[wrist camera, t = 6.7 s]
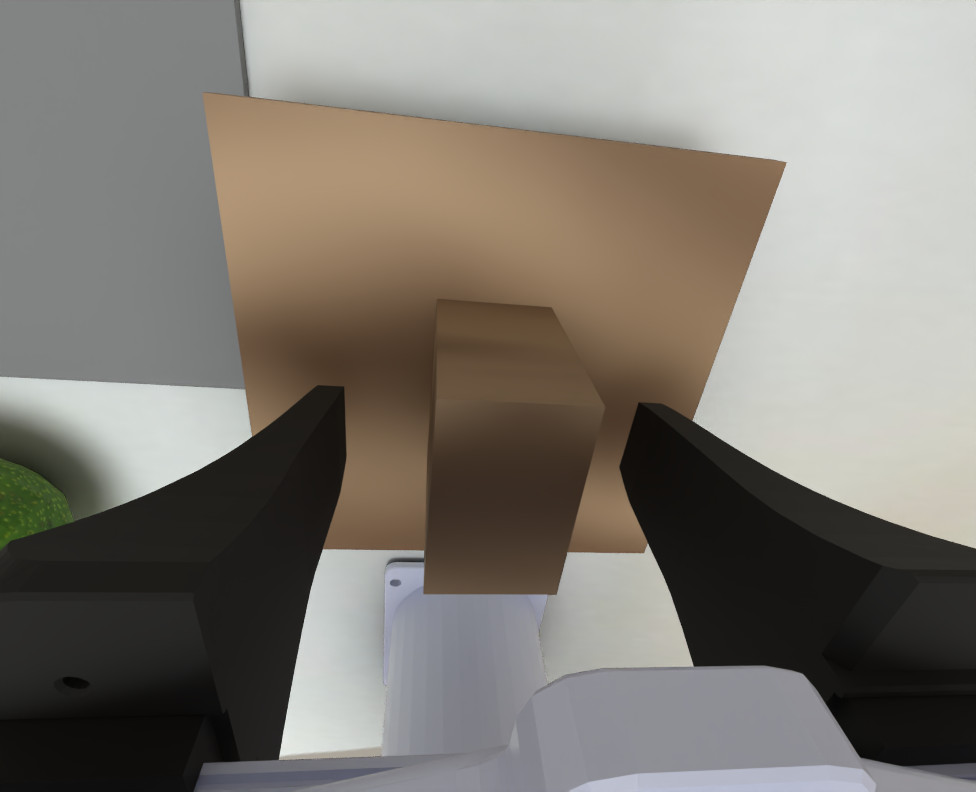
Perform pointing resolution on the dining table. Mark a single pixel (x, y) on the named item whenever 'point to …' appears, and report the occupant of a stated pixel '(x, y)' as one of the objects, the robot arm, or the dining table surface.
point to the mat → (115, 191)
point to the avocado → (28, 503)
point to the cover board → (478, 236)
